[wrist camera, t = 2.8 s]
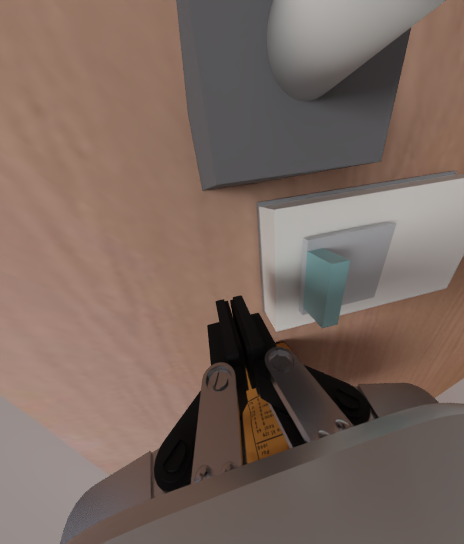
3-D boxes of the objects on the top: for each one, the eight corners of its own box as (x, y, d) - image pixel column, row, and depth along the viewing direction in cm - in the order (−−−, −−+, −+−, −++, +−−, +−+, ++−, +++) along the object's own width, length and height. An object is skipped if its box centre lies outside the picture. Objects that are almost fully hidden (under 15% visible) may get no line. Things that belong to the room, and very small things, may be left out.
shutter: (388, 221, 13) (439, 229, 10) (368, 293, 16) (403, 314, 13) (303, 238, 12) (333, 251, 9) (298, 310, 15) (321, 336, 12)
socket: (449, 171, 16) (510, 166, 13) (409, 276, 21) (445, 290, 18) (256, 202, 14) (274, 204, 11) (263, 311, 19) (276, 333, 16)
